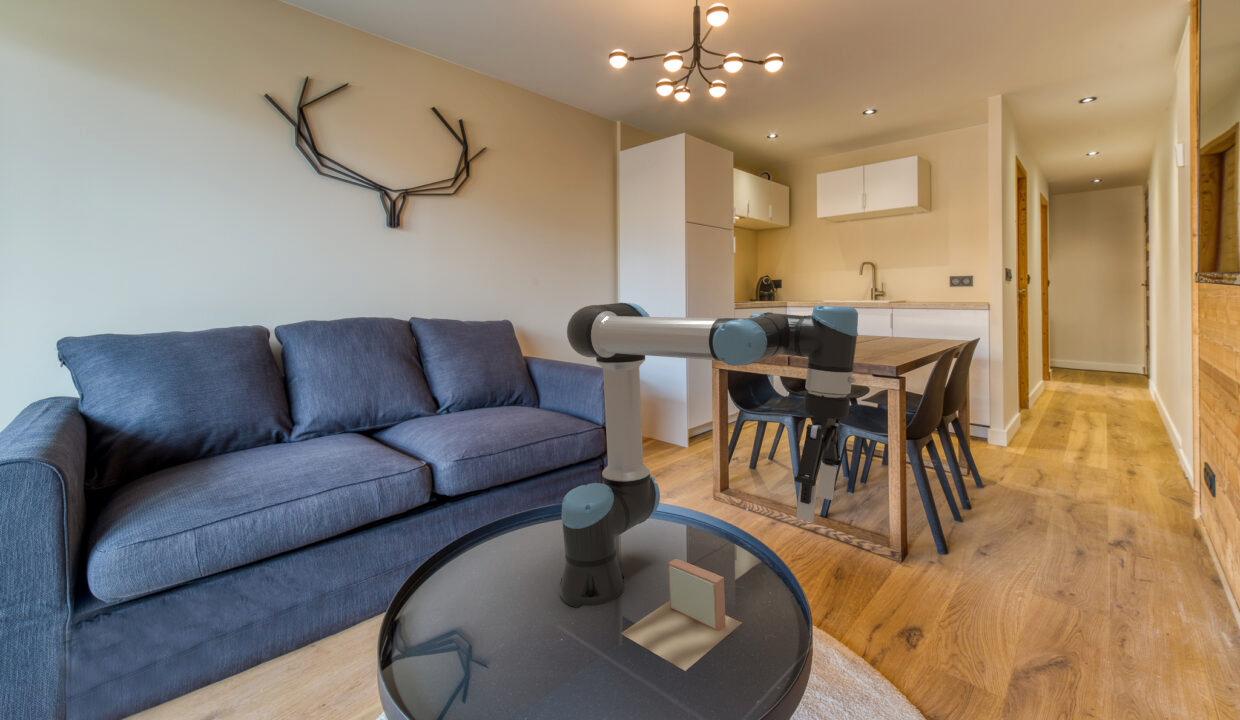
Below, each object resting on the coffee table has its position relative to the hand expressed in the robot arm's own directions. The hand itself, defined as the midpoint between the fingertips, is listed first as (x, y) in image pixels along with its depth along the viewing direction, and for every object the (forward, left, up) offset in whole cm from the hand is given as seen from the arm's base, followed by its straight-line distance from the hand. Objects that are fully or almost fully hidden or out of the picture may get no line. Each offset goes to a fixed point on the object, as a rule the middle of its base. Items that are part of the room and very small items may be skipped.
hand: (815, 508), depth 97 cm
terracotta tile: (-21, -9, -25) cm, 34 cm away
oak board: (-21, -14, -26) cm, 36 cm away
